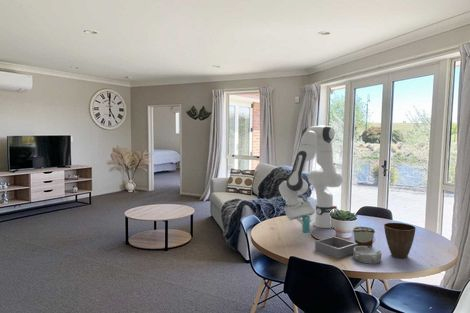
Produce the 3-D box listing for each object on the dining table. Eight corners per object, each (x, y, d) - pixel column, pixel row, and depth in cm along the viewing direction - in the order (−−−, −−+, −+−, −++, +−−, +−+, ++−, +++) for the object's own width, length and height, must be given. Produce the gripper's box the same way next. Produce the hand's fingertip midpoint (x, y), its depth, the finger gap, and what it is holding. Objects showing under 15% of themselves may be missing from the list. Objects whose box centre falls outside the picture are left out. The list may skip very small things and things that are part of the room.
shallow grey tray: (333, 244, 194) (333, 236, 193) (357, 252, 181) (357, 243, 180) (315, 250, 185) (315, 241, 184) (338, 258, 172) (338, 249, 171)
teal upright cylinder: (306, 230, 203) (305, 216, 203) (311, 232, 200) (311, 217, 199) (300, 231, 201) (300, 217, 200) (306, 233, 197) (306, 218, 196)
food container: (371, 243, 195) (371, 226, 195) (374, 246, 189) (375, 229, 188) (350, 242, 196) (350, 226, 196) (352, 246, 190) (352, 229, 190)
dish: (358, 252, 180) (358, 243, 180) (384, 258, 171) (385, 249, 171) (348, 260, 169) (348, 251, 169) (376, 267, 160) (376, 257, 160)
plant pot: (378, 255, 175) (379, 226, 174) (389, 248, 185) (390, 220, 184) (409, 263, 164) (410, 232, 163) (418, 255, 175) (419, 226, 173)
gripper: (285, 203, 199) (296, 223, 191) (308, 198, 210) (320, 216, 203) (280, 209, 203) (291, 228, 195) (303, 204, 214) (315, 222, 207)
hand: (306, 222), depth 199 cm, fingers closed on teal upright cylinder, 4 cm apart
